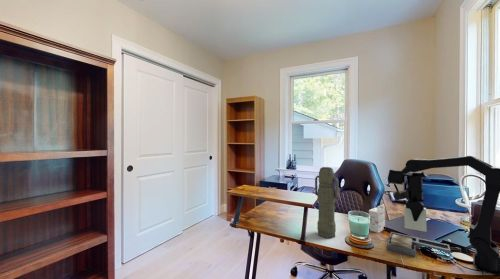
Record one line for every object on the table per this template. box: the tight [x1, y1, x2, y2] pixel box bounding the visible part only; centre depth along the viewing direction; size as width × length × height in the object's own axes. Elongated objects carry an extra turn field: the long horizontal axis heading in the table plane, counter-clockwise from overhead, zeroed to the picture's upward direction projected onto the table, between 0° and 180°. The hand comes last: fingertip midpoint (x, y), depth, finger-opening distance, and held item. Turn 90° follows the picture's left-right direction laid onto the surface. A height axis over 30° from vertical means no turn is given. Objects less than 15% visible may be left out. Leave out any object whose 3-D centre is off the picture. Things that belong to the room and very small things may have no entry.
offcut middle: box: [391, 239, 411, 249], centre depth 97 cm, size 7×4×2 cm, turn 52°
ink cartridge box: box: [368, 203, 386, 233], centre depth 119 cm, size 9×5×15 cm, turn 126°
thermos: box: [314, 166, 340, 239], centre depth 114 cm, size 9×12×35 cm
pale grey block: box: [403, 204, 428, 233], centre depth 101 cm, size 8×2×10 cm, turn 52°
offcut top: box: [392, 234, 412, 246], centre depth 97 cm, size 7×4×2 cm, turn 52°
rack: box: [386, 231, 451, 258], centre depth 97 cm, size 22×17×4 cm
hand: (415, 220), depth 101 cm, fingers closed on pale grey block, 2 cm apart
